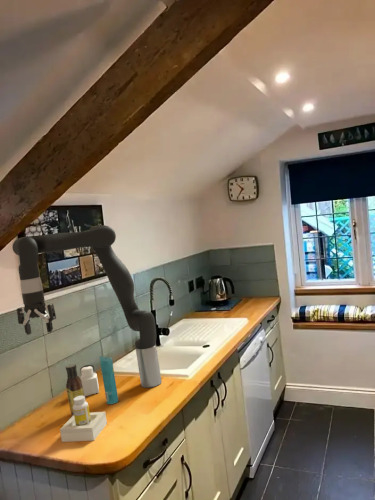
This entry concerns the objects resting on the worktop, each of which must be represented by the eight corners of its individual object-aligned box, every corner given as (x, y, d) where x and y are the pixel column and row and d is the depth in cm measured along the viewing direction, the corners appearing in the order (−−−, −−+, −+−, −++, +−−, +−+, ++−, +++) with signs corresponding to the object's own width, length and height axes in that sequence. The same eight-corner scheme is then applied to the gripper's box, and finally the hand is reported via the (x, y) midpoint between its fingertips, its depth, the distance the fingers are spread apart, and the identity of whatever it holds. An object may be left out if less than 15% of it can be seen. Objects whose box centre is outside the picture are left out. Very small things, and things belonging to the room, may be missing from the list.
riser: (77, 424, 163) (75, 413, 162) (107, 423, 160) (105, 411, 160) (62, 441, 151) (59, 429, 151) (94, 440, 149) (92, 427, 148)
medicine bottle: (83, 391, 197) (78, 365, 197) (98, 387, 199) (94, 362, 198) (82, 396, 190) (78, 370, 190) (99, 393, 192) (94, 367, 191)
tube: (123, 400, 180) (116, 355, 179) (115, 405, 176) (108, 359, 175) (109, 398, 184) (102, 354, 182) (101, 403, 180) (94, 358, 178)
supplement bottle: (84, 419, 159) (80, 393, 159) (94, 421, 156) (90, 395, 155) (72, 426, 155) (68, 399, 154) (82, 429, 152) (78, 402, 151)
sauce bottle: (72, 411, 176) (64, 363, 175) (88, 408, 177) (80, 361, 175) (69, 418, 170) (61, 369, 169) (85, 415, 170) (77, 366, 169)
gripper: (54, 286, 163) (61, 328, 164) (20, 290, 166) (27, 332, 167) (44, 290, 156) (51, 334, 157) (9, 294, 159) (16, 337, 160)
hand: (39, 333), depth 162 cm, fingers open, 8 cm apart
